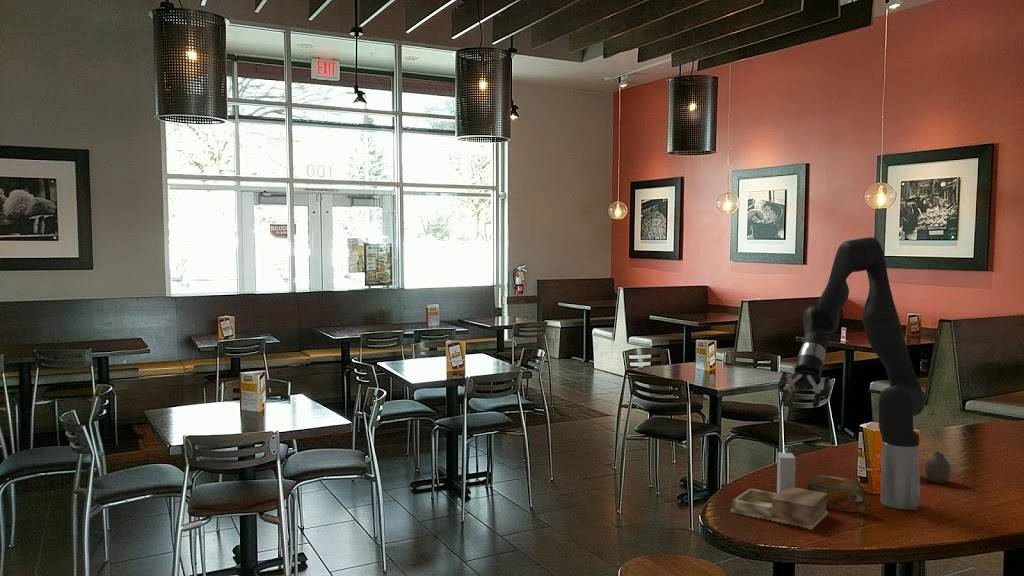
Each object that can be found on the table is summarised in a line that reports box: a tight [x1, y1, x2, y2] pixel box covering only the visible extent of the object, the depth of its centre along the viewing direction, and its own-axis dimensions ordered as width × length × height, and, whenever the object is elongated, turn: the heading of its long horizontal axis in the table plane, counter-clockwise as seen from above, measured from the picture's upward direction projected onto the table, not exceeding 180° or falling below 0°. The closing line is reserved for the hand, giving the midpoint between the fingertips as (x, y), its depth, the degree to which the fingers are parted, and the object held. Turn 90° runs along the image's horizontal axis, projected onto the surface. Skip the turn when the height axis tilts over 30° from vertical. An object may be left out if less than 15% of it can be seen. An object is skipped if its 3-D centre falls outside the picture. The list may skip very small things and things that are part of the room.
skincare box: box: [776, 452, 797, 494], centre depth 217 cm, size 6×4×12 cm
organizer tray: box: [730, 486, 828, 530], centre depth 203 cm, size 21×14×6 cm, turn 52°
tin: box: [807, 474, 867, 513], centre depth 208 cm, size 15×3×8 cm, turn 49°
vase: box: [924, 451, 952, 484], centre depth 231 cm, size 7×7×9 cm
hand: (799, 404), depth 225 cm, fingers open, 8 cm apart
